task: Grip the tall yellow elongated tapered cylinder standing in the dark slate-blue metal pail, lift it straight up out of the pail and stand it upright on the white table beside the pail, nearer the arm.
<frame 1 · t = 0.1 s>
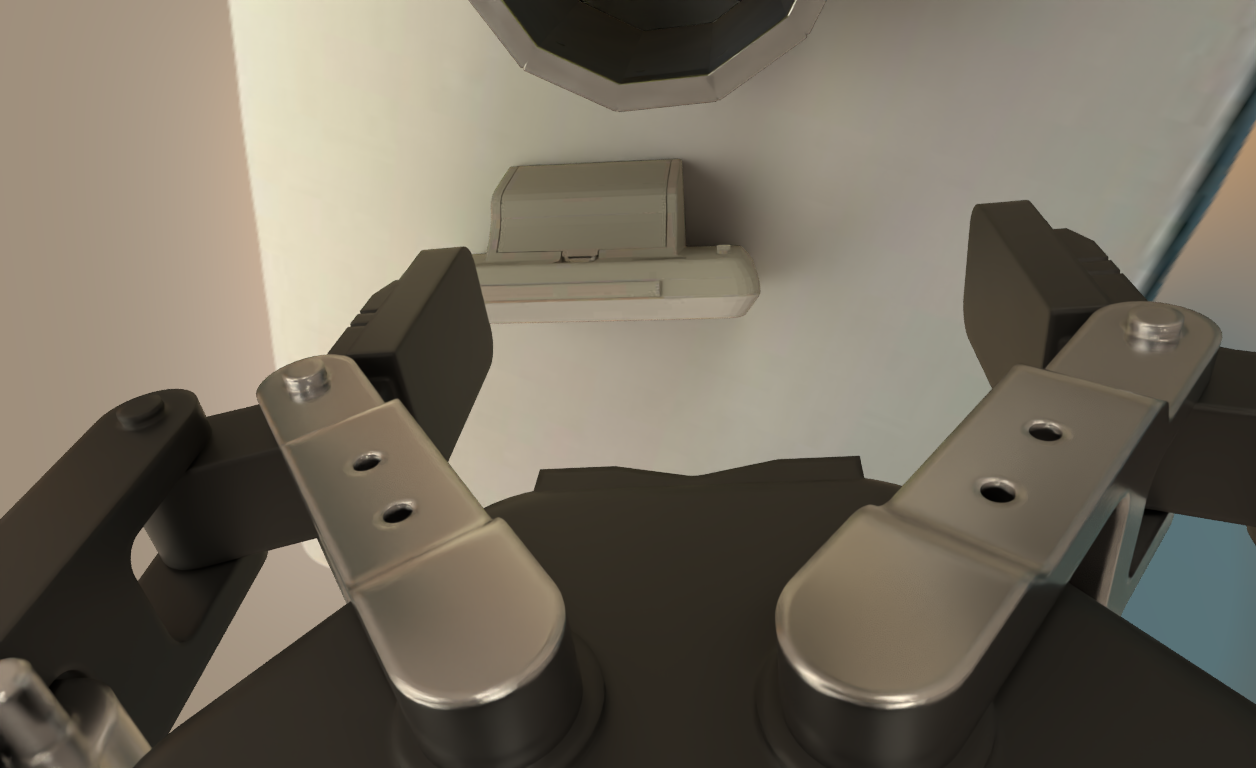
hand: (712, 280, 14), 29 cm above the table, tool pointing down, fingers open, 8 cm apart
digital clock: (603, 236, 45), on the table
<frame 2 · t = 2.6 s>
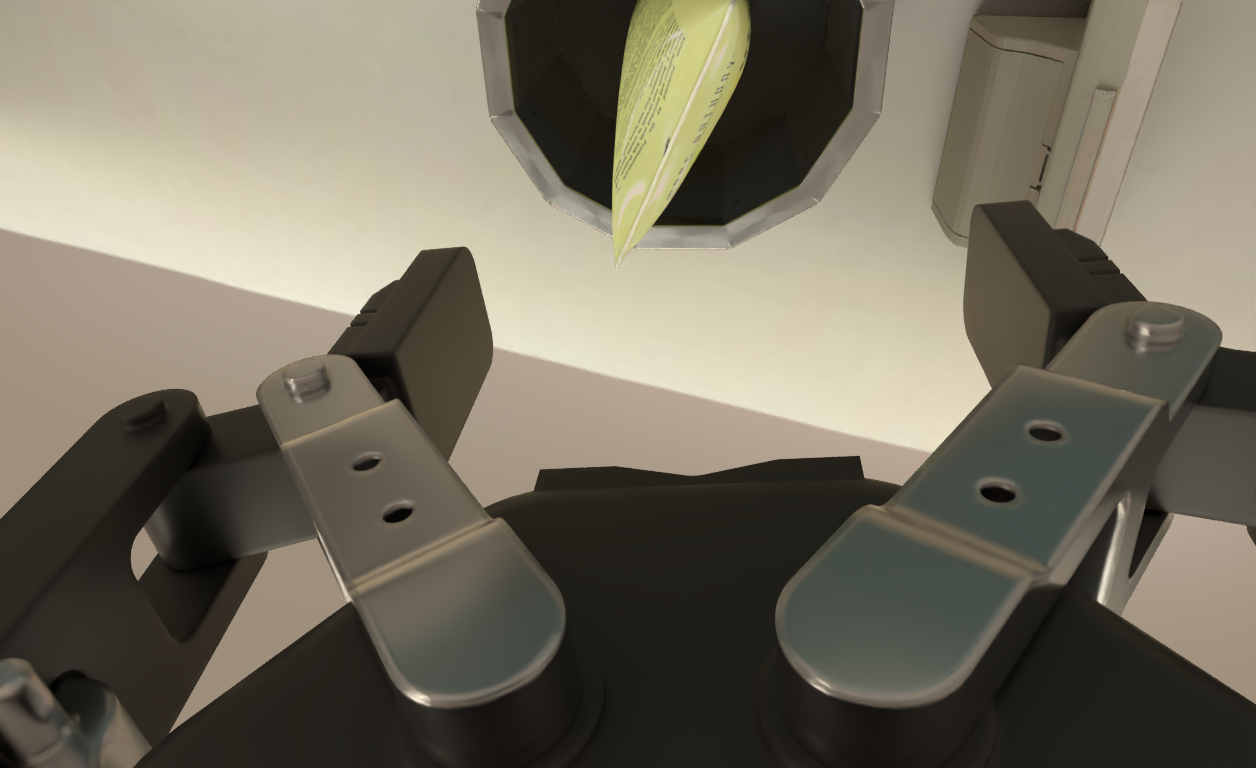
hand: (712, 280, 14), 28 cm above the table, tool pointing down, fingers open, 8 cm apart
pail: (691, 11, 38), on the table
yellow elongated tapered cylinder: (691, 10, 38), resting in pail
digital clock: (1041, 119, 39), on the table
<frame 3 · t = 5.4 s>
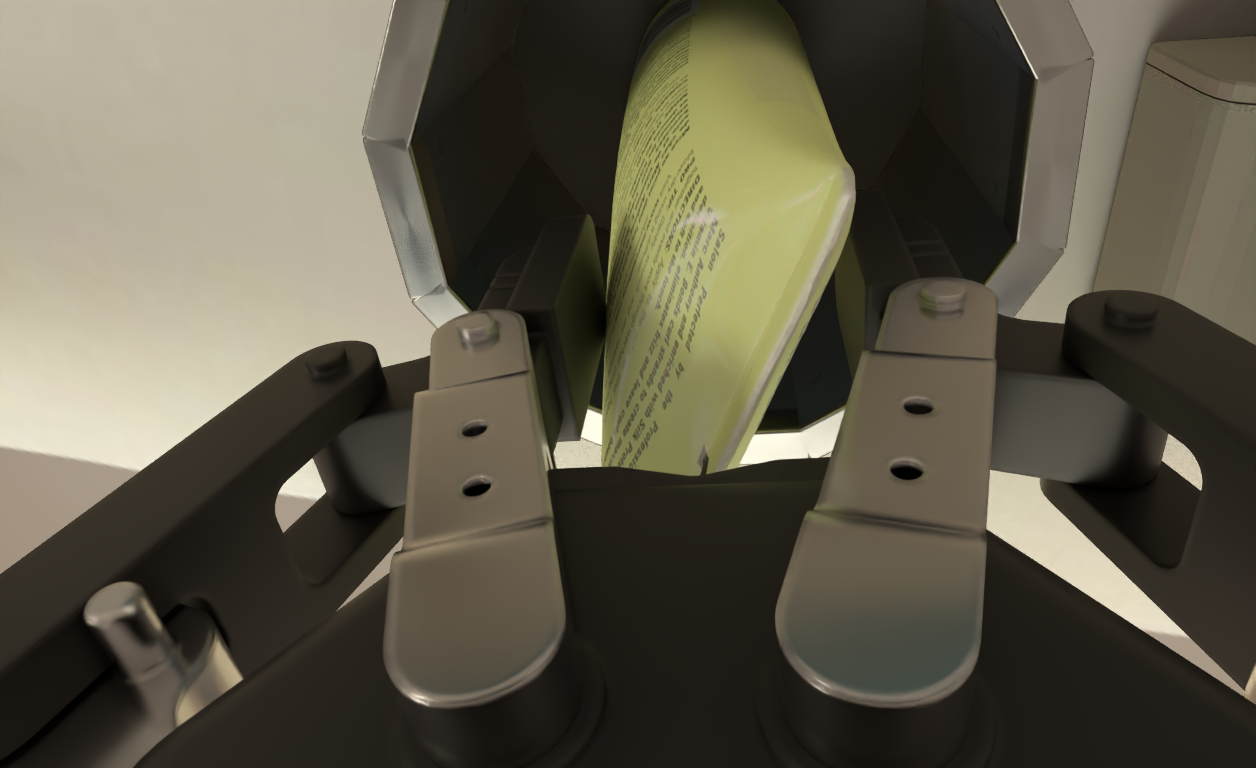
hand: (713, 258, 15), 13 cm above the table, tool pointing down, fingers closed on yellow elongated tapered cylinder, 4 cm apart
pail: (716, 75, 26), on the table
yellow elongated tapered cylinder: (716, 73, 26), resting in pail, touching gripper
digital clock: (1253, 183, 26), on the table
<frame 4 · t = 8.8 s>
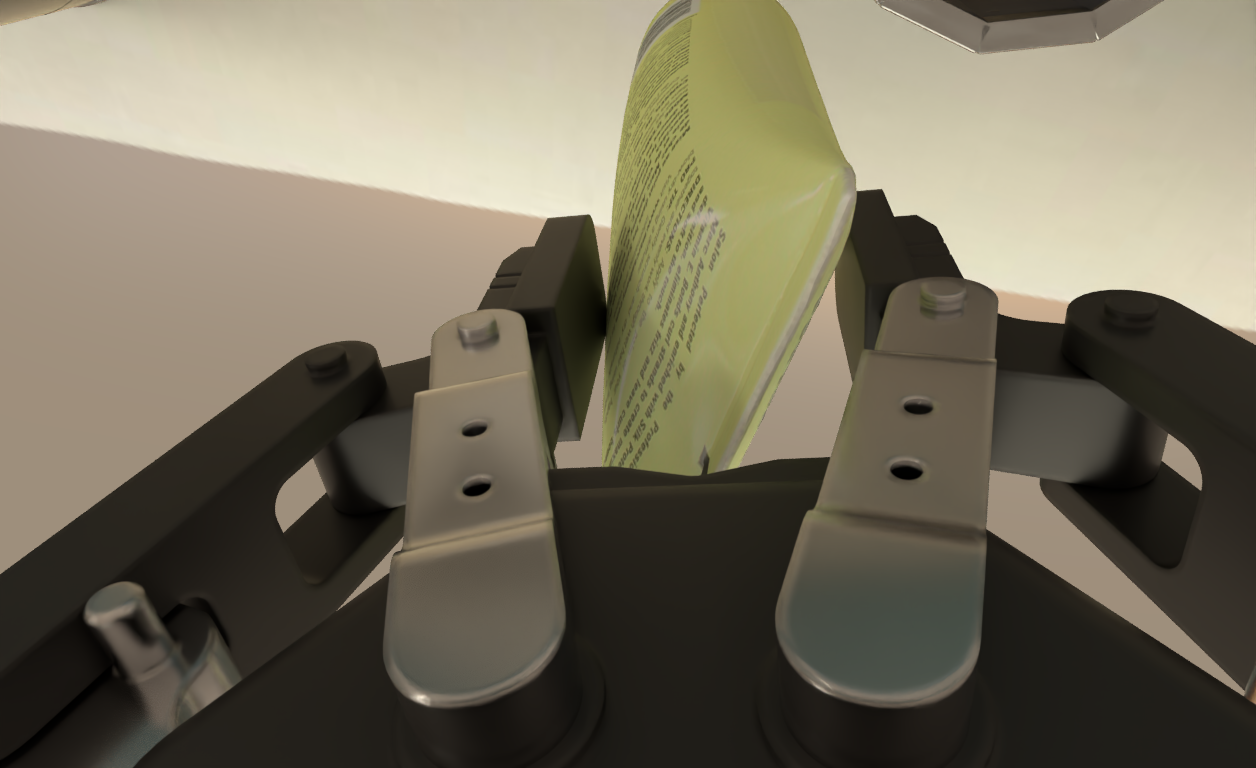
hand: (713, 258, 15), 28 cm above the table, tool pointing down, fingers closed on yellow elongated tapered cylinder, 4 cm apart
yellow elongated tapered cylinder: (717, 73, 26), point 14 cm above the table, touching gripper
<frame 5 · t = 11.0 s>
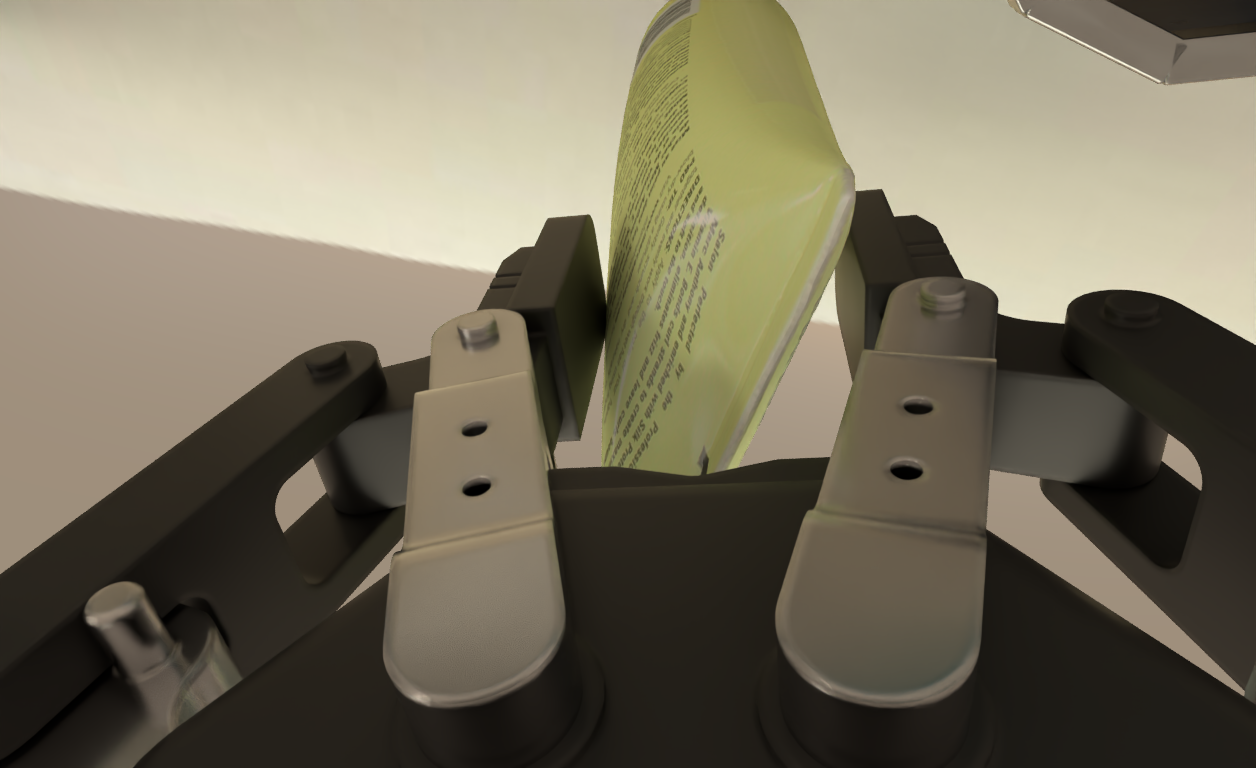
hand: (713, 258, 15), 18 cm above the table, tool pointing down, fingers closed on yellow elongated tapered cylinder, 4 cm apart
yellow elongated tapered cylinder: (716, 73, 26), point 4 cm above the table, touching gripper
when the fingers open (13 cm above the table, at t = 12.5 s): yellow elongated tapered cylinder stays where it is, on the table.
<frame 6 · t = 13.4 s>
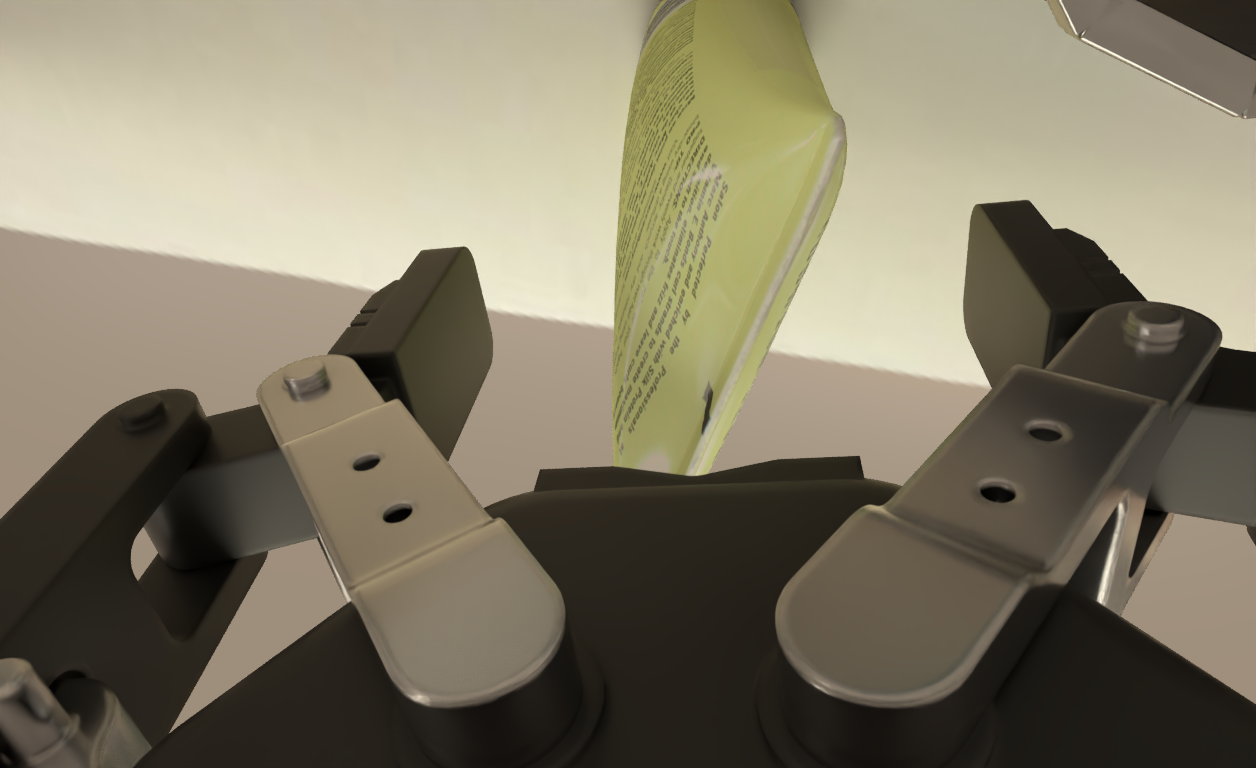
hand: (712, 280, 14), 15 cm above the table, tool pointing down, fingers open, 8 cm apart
yellow elongated tapered cylinder: (719, 58, 27), on the table
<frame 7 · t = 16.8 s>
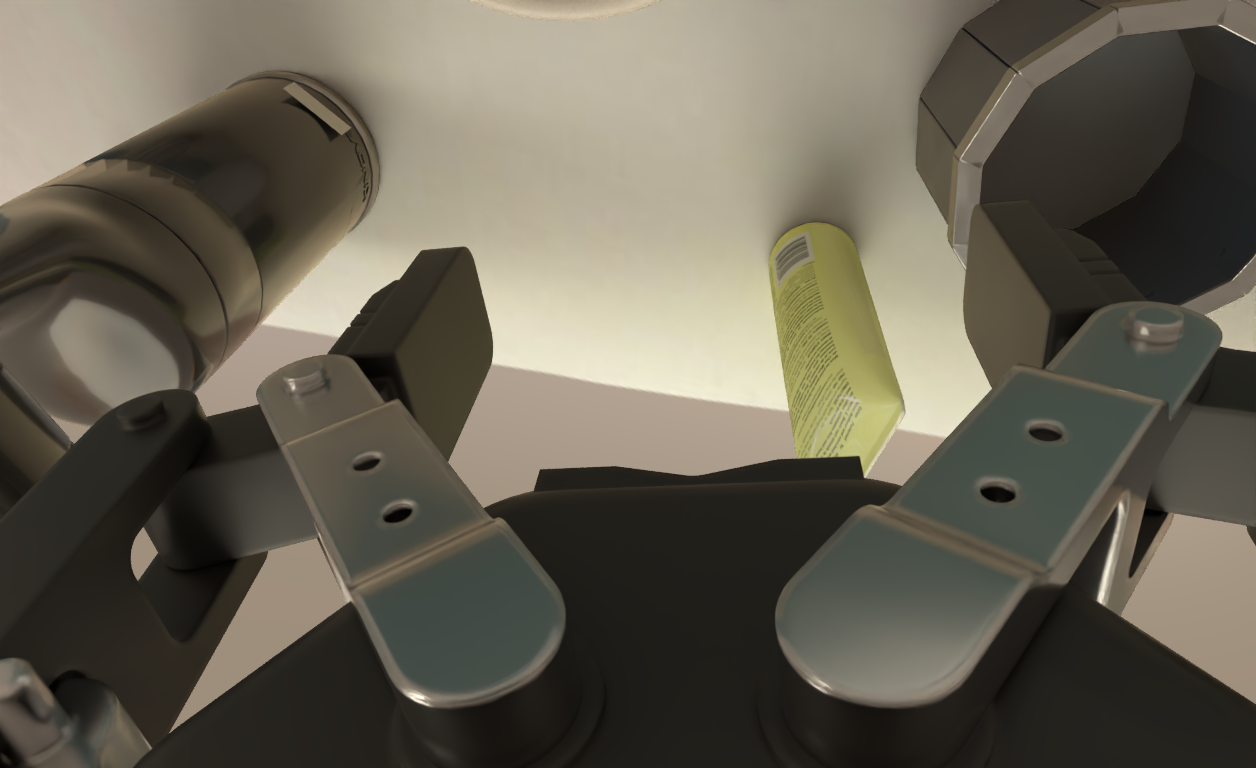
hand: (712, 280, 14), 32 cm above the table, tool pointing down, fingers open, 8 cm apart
pail: (1056, 119, 43), on the table
yellow elongated tapered cylinder: (810, 263, 48), on the table
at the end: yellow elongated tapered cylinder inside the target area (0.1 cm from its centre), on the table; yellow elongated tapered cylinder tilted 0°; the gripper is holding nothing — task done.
